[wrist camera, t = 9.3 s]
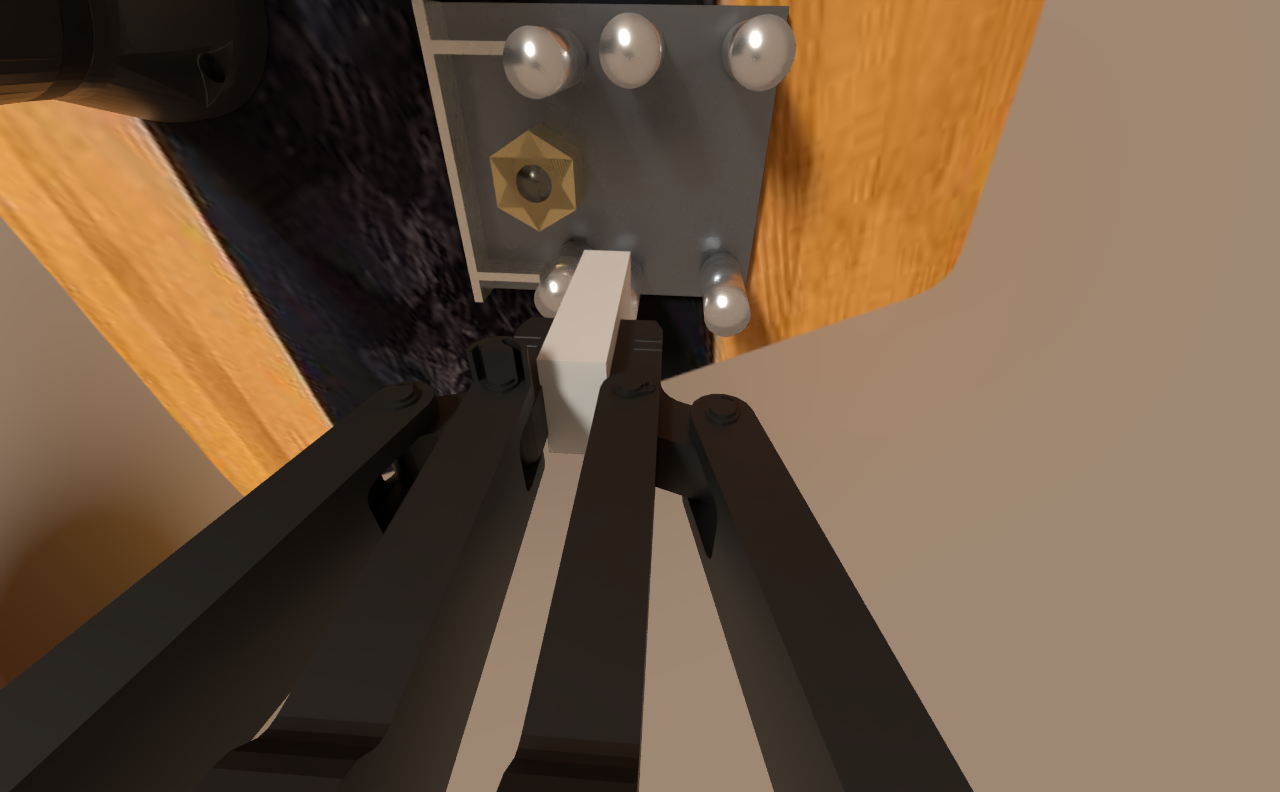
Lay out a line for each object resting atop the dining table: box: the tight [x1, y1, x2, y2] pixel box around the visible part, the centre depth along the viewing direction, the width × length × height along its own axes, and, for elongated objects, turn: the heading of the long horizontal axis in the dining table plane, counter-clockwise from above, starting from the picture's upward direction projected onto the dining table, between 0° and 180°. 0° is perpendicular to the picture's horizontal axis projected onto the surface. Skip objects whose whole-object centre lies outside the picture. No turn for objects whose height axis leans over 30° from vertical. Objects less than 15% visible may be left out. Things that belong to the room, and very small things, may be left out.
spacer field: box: [411, 0, 796, 337], centre depth 29 cm, size 20×17×8 cm
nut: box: [490, 123, 584, 232], centre depth 30 cm, size 5×6×3 cm
